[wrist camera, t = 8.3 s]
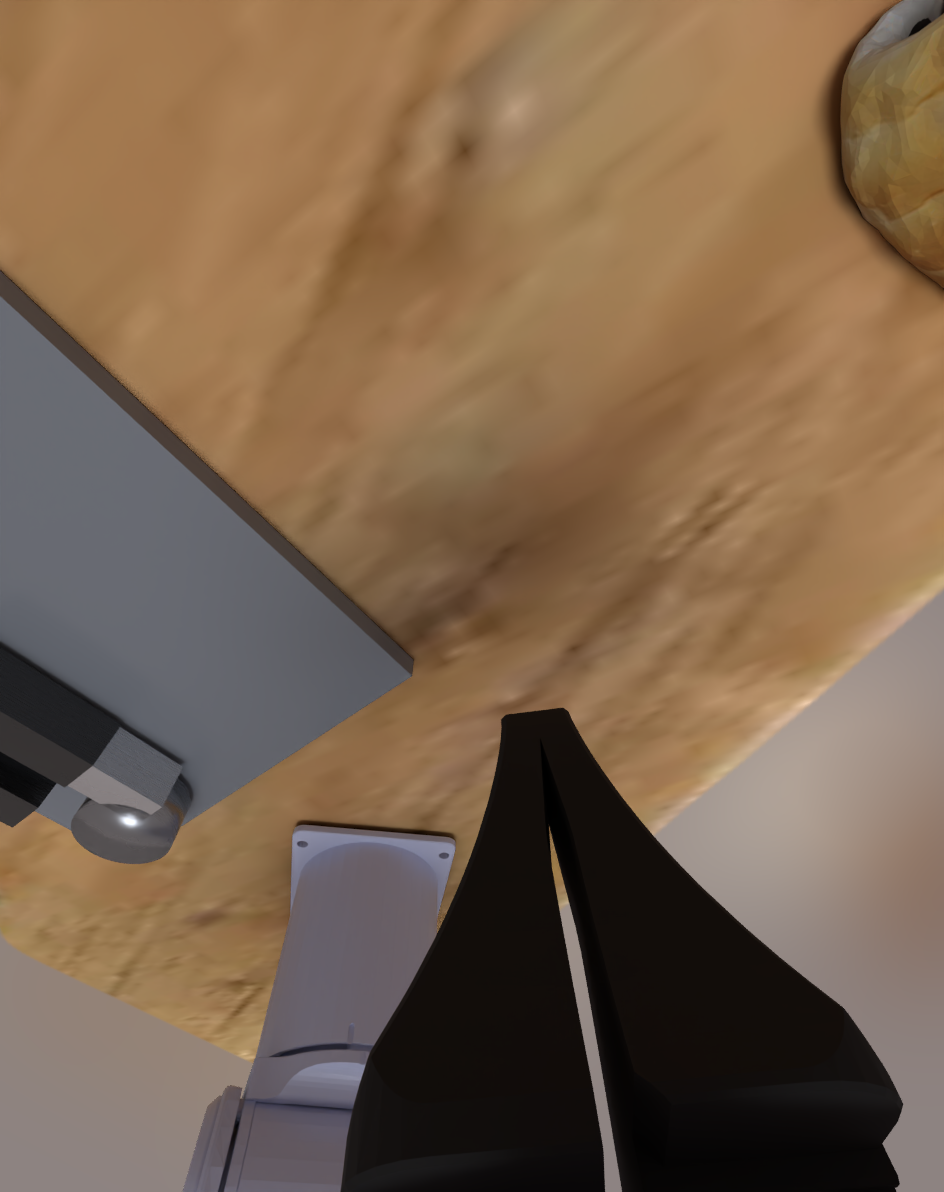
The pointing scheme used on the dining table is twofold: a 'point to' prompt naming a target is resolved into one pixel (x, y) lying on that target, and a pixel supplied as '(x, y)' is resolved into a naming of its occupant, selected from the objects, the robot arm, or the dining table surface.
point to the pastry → (899, 131)
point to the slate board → (160, 580)
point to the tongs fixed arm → (20, 790)
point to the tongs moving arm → (92, 766)
